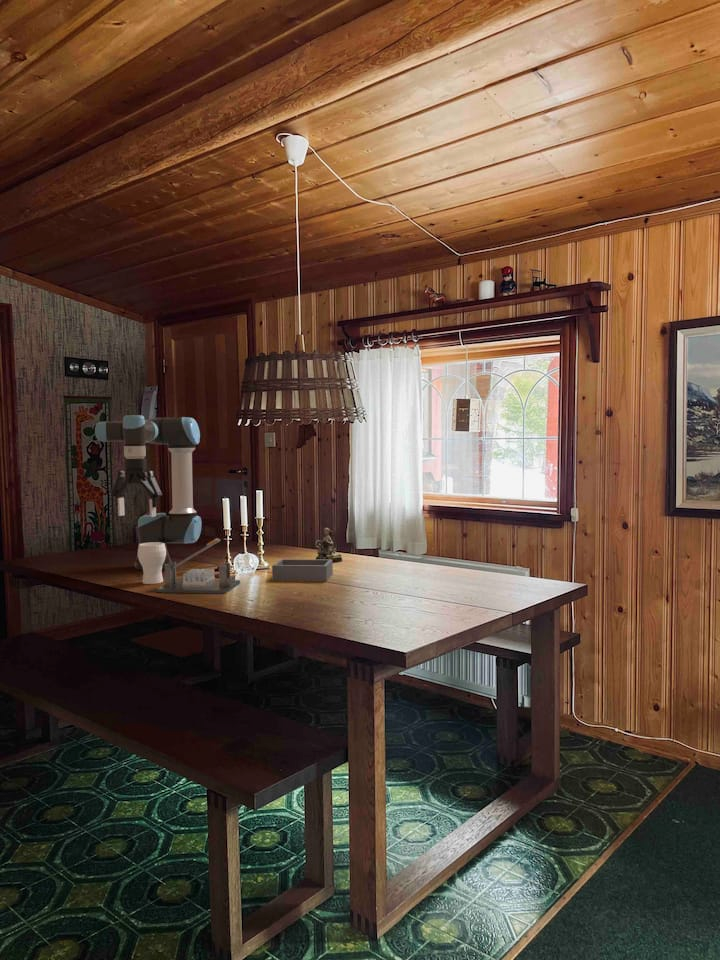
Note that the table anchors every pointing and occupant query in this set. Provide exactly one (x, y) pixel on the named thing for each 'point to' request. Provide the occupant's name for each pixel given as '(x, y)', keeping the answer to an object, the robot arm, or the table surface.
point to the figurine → (327, 548)
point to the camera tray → (302, 570)
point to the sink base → (196, 590)
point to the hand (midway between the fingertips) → (137, 516)
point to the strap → (197, 552)
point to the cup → (152, 561)
